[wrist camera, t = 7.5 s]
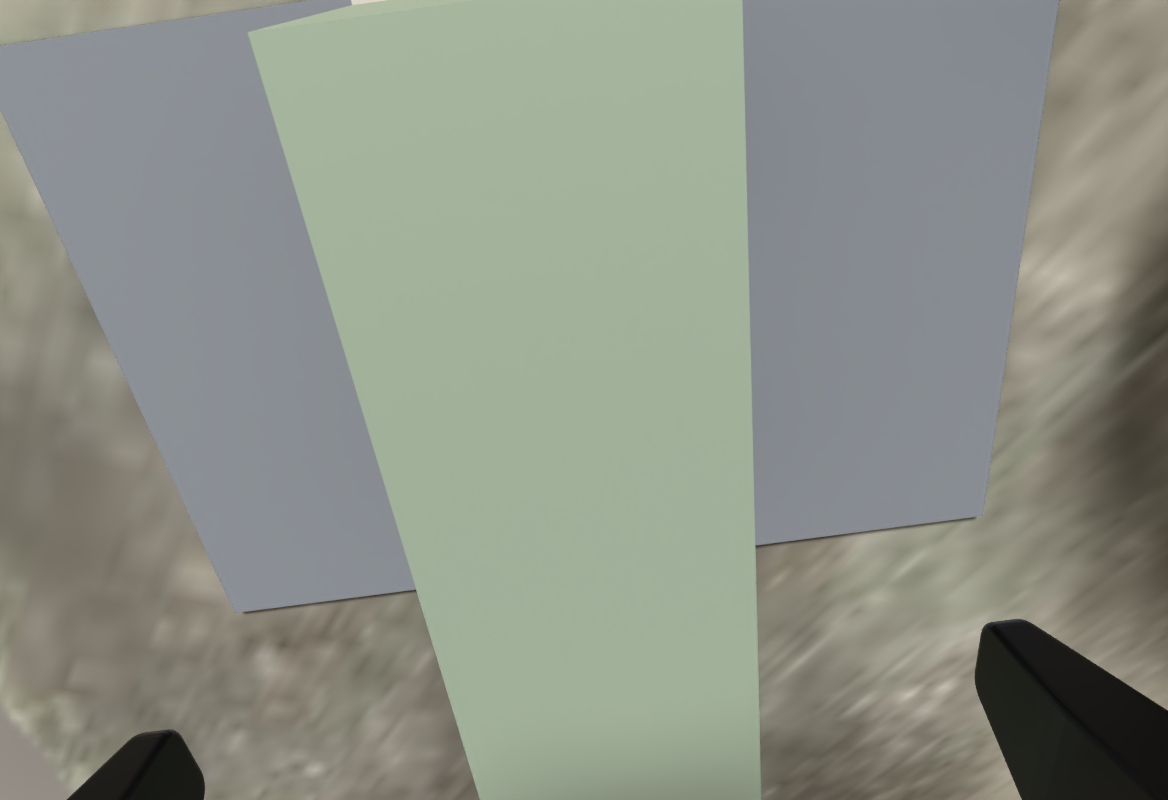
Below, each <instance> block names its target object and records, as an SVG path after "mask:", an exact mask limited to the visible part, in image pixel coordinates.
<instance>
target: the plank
mask: <svg viewBox="0 0 1168 800" xmlns="http://www.w3.org/2000/svg"><path fill="white" fill-rule="evenodd" d="M248 35H249V39H250V42H251V45H252V49H253V52H254V55H255V59H256V62H257V65H258V69H259V72H260V75H261V78H262V82H263V85H264V88H265V92H266V95H267V98H268V102H269V105H270V108H271V111H272V115H273V118H274V121H275V125H276V128H277V131H278V135H279V138H280V141H281V145H282V148H283V151H284V154H285V158H286V161H287V164H288V168H289V171H290V174H291V178H292V181H293V184H294V187H295V191H296V194H297V197H298V201H299V204H300V207H301V211H302V214H303V217H304V220H305V224H306V227H307V230H308V234H309V237H310V240H311V244H312V247H313V250H314V254H315V257H316V260H317V263H318V267H319V270H320V273H321V277H322V280H323V283H324V287H325V290H326V293H327V296H328V300H329V303H330V306H331V310H332V313H333V316H334V320H335V323H336V326H337V330H338V333H339V336H340V339H341V343H342V346H343V349H344V353H345V356H346V359H347V363H348V366H349V369H350V372H351V376H352V379H353V382H354V386H355V389H356V392H357V396H358V399H359V402H360V405H361V409H362V412H363V415H364V419H365V422H366V425H367V429H368V432H369V435H370V439H371V442H372V445H373V448H374V452H375V455H376V458H377V462H378V465H379V468H380V472H381V475H382V478H383V481H384V485H385V488H386V491H387V495H388V498H389V501H390V505H391V508H392V511H393V515H394V518H395V521H396V524H397V528H398V531H399V534H400V538H401V541H402V544H403V548H404V551H405V554H406V557H407V561H408V564H409V567H410V571H411V574H412V577H413V581H414V584H415V587H416V590H417V594H418V597H419V600H420V604H421V607H422V610H423V614H424V617H425V620H426V624H427V627H428V630H429V633H430V637H431V640H432V643H433V647H434V650H435V653H436V657H437V660H438V663H439V666H440V670H441V673H442V676H443V680H444V683H445V686H446V690H447V693H448V696H449V700H450V703H451V706H452V709H453V713H454V716H455V719H456V723H457V726H458V729H459V733H460V736H461V739H462V742H463V746H464V749H465V752H466V756H467V759H468V762H469V766H470V769H471V772H472V775H473V779H474V782H475V785H476V789H477V792H478V795H479V799H480V800H761V766H760V724H759V681H758V639H757V597H756V555H755V512H754V470H753V428H752V386H751V343H750V301H749V259H748V217H747V174H746V132H745V90H744V48H743V5H742V0H385V1H378V2H371V3H364V4H357V5H351V6H347V7H343V8H339V9H335V10H331V11H328V12H324V13H320V14H316V15H312V16H308V17H304V18H301V19H297V20H293V21H289V22H285V23H281V24H278V25H274V26H270V27H266V28H262V29H258V30H254V31H251V32H248Z"/></svg>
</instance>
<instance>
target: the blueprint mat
mask: <svg viewBox="0 0 1168 800" xmlns="http://www.w3.org/2000/svg"><path fill="white" fill-rule="evenodd" d="M378 1H385V0H307V1H300V2H293V3H286V4H280V5H273V6H266V7H259V8H252V9H246V10H239V11H232V12H225V13H218V14H212V15H205V16H198V17H191V18H184V19H177V20H171V21H164V22H157V23H150V24H143V25H137V26H130V27H123V28H116V29H109V30H103V31H96V32H89V33H82V34H75V35H69V36H62V37H55V38H48V39H41V40H35V41H28V42H21V43H14V44H7V45H1V46H0V110H1V112H2V114H3V116H4V118H5V121H6V123H7V125H8V127H9V129H10V131H11V134H12V136H13V138H14V140H15V142H16V144H17V146H18V149H19V151H20V153H21V155H22V157H23V159H24V161H25V164H26V166H27V168H28V170H29V172H30V174H31V176H32V179H33V181H34V183H35V185H36V187H37V189H38V191H39V194H40V196H41V198H42V200H43V202H44V204H45V207H46V209H47V211H48V213H49V215H50V217H51V219H52V222H53V224H54V226H55V228H56V230H57V232H58V234H59V237H60V239H61V241H62V243H63V245H64V247H65V249H66V252H67V254H68V256H69V258H70V260H71V262H72V264H73V267H74V269H75V271H76V273H77V275H78V277H79V280H80V282H81V284H82V286H83V288H84V290H85V292H86V295H87V297H88V299H89V301H90V303H91V305H92V307H93V310H94V312H95V314H96V316H97V318H98V320H99V322H100V325H101V327H102V329H103V331H104V333H105V335H106V337H107V340H108V342H109V344H110V346H111V348H112V350H113V353H114V355H115V357H116V359H117V361H118V363H119V365H120V368H121V370H122V372H123V374H124V376H125V378H126V380H127V383H128V385H129V387H130V389H131V391H132V393H133V395H134V398H135V400H136V402H137V404H138V406H139V408H140V410H141V413H142V415H143V417H144V419H145V421H146V423H147V425H148V428H149V430H150V432H151V434H152V436H153V438H154V441H155V443H156V445H157V447H158V449H159V451H160V453H161V456H162V458H163V460H164V462H165V464H166V466H167V468H168V471H169V473H170V475H171V477H172V479H173V481H174V483H175V486H176V488H177V490H178V492H179V494H180V496H181V498H182V501H183V503H184V505H185V507H186V509H187V511H188V514H189V516H190V518H191V520H192V522H193V524H194V526H195V529H196V531H197V533H198V535H199V537H200V539H201V541H202V544H203V546H204V548H205V550H206V552H207V554H208V556H209V559H210V561H211V563H212V565H213V567H214V569H215V571H216V574H217V576H218V578H219V580H220V582H221V584H222V587H223V589H224V591H225V593H226V595H227V597H228V599H229V602H230V604H231V606H232V608H233V610H234V612H235V613H239V612H247V611H255V610H262V609H270V608H278V607H285V606H293V605H301V604H309V603H316V602H324V601H332V600H339V599H347V598H355V597H362V596H370V595H378V594H386V593H393V592H401V591H409V590H416V587H415V584H414V581H413V577H412V574H411V571H410V567H409V564H408V561H407V557H406V554H405V551H404V548H403V544H402V541H401V538H400V534H399V531H398V528H397V524H396V521H395V518H394V515H393V511H392V508H391V505H390V501H389V498H388V495H387V491H386V488H385V485H384V481H383V478H382V475H381V472H380V468H379V465H378V462H377V458H376V455H375V452H374V448H373V445H372V442H371V439H370V435H369V432H368V429H367V425H366V422H365V419H364V415H363V412H362V409H361V405H360V402H359V399H358V396H357V392H356V389H355V386H354V382H353V379H352V376H351V372H350V369H349V366H348V363H347V359H346V356H345V353H344V349H343V346H342V343H341V339H340V336H339V333H338V330H337V326H336V323H335V320H334V316H333V313H332V310H331V306H330V303H329V300H328V296H327V293H326V290H325V287H324V283H323V280H322V277H321V273H320V270H319V267H318V263H317V260H316V257H315V254H314V250H313V247H312V244H311V240H310V237H309V234H308V230H307V227H306V224H305V220H304V217H303V214H302V211H301V207H300V204H299V201H298V197H297V194H296V191H295V187H294V184H293V181H292V178H291V174H290V171H289V168H288V164H287V161H286V158H285V154H284V151H283V148H282V145H281V141H280V138H279V135H278V131H277V128H276V125H275V121H274V118H273V115H272V111H271V108H270V105H269V102H268V98H267V95H266V92H265V88H264V85H263V82H262V78H261V75H260V72H259V69H258V65H257V62H256V59H255V55H254V52H253V49H252V45H251V42H250V39H249V35H248V32H251V31H254V30H258V29H262V28H266V27H270V26H274V25H278V24H281V23H285V22H289V21H293V20H297V19H301V18H304V17H308V16H312V15H316V14H320V13H324V12H328V11H331V10H335V9H339V8H343V7H347V6H351V5H357V4H364V3H371V2H378ZM1058 4H1059V0H742V5H743V48H744V90H745V132H746V174H747V217H748V259H749V301H750V343H751V386H752V428H753V470H754V512H755V545H763V544H771V543H778V542H786V541H794V540H802V539H809V538H817V537H825V536H832V535H840V534H848V533H855V532H863V531H871V530H879V529H886V528H894V527H902V526H909V525H917V524H925V523H932V522H940V521H948V520H956V519H963V518H971V517H979V516H983V511H984V504H985V497H986V490H987V484H988V477H989V470H990V463H991V457H992V450H993V443H994V436H995V430H996V423H997V416H998V409H999V403H1000V396H1001V389H1002V382H1003V376H1004V369H1005V362H1006V355H1007V349H1008V342H1009V335H1010V328H1011V322H1012V315H1013V308H1014V301H1015V295H1016V288H1017V281H1018V274H1019V268H1020V261H1021V254H1022V247H1023V241H1024V234H1025V227H1026V220H1027V214H1028V207H1029V200H1030V193H1031V187H1032V180H1033V173H1034V166H1035V160H1036V153H1037V146H1038V139H1039V133H1040V126H1041V119H1042V112H1043V106H1044V99H1045V92H1046V85H1047V78H1048V72H1049V65H1050V58H1051V51H1052V45H1053V38H1054V31H1055V24H1056V18H1057V11H1058Z"/></svg>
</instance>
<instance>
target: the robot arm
mask: <svg viewBox="0 0 1168 800" xmlns="http://www.w3.org/2000/svg"><path fill="white" fill-rule="evenodd" d="M975 685H976V689H977V693H978V696H979V699H980V701H981V703H982V706H983V708H984V711H985V713H986V715H987V718H988V720H989V723H990V725H991V727H992V730H993V732H994V734H995V737H996V739H997V742H998V744H999V746H1000V749H1001V751H1002V754H1003V756H1004V758H1005V761H1006V763H1007V765H1008V768H1009V770H1010V773H1011V775H1012V777H1013V780H1014V782H1015V785H1016V787H1017V789H1018V792H1019V794H1020V797H1021V799H1022V800H1168V710H1166V709H1164V708H1163V707H1161V706H1160V705H1158V704H1157V703H1155V702H1154V701H1152V700H1150V699H1149V698H1147V697H1146V696H1144V695H1143V694H1141V693H1140V692H1138V691H1136V690H1135V689H1133V688H1132V687H1130V686H1129V685H1127V684H1126V683H1124V682H1122V681H1121V680H1119V679H1118V678H1116V677H1115V676H1113V675H1112V674H1110V673H1108V672H1107V671H1105V670H1104V669H1102V668H1101V667H1099V666H1098V665H1096V664H1094V663H1093V662H1091V661H1090V660H1088V659H1087V658H1085V657H1083V656H1082V655H1080V654H1079V653H1077V652H1076V651H1074V650H1073V649H1071V648H1069V647H1068V646H1066V645H1065V644H1063V643H1062V642H1060V641H1059V640H1057V639H1055V638H1054V637H1052V636H1051V635H1049V634H1048V633H1046V632H1045V631H1043V630H1041V629H1040V628H1038V627H1037V626H1035V625H1034V624H1032V623H1030V622H1028V621H1026V620H1022V619H1012V620H1004V621H997V622H990V623H987V624H986V625H985V626H984V627H983V629H982V632H981V637H980V643H979V650H978V656H977V662H976V668H975ZM204 794H205V783H204V778H203V774H202V772H201V770H200V768H199V766H198V765H197V763H196V761H195V759H194V757H193V756H192V754H191V752H190V750H189V749H188V747H187V745H186V743H185V742H184V740H183V738H182V736H181V735H180V734H179V733H178V732H176V731H174V730H169V729H168V730H161V731H153V732H145V733H141V734H138V735H136V736H134V737H133V738H131V739H130V740H129V741H128V742H127V743H126V744H125V745H124V746H123V747H121V748H120V749H119V750H118V751H117V752H116V753H115V754H114V755H113V756H112V757H111V758H110V759H109V760H108V761H107V762H106V763H105V764H104V765H103V766H102V767H100V768H99V769H98V770H97V771H96V772H95V773H94V774H93V775H92V776H91V777H90V778H89V779H88V780H87V781H86V782H85V783H84V784H83V785H82V786H80V787H79V788H78V789H77V790H76V791H75V792H74V793H73V794H72V795H71V796H70V797H69V798H68V799H67V800H204Z"/></svg>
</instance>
